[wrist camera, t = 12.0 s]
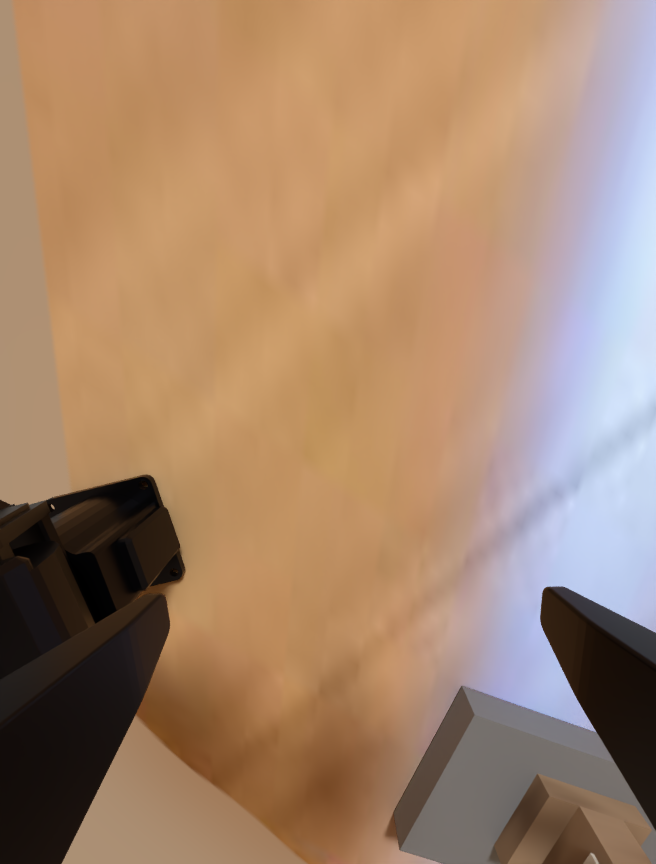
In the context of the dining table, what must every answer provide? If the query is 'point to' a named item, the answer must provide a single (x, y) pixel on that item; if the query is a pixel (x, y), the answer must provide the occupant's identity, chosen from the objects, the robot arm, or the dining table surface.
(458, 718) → the grey l-shaped bracket
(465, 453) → the dining table surface
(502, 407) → the dining table surface
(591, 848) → the brown upright panelled block
